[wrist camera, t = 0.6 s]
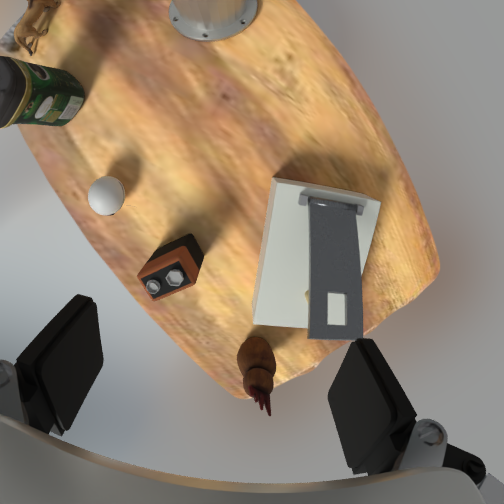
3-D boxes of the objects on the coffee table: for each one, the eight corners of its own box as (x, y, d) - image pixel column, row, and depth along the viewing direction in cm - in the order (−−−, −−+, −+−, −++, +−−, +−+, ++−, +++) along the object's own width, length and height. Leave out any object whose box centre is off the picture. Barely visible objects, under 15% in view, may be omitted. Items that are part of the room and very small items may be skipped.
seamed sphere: (93, 199, 39) (75, 208, 34) (107, 167, 37) (90, 171, 32) (132, 223, 41) (118, 235, 35) (148, 191, 39) (135, 198, 34)
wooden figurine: (278, 352, 50) (288, 416, 36) (250, 363, 51) (252, 427, 37) (262, 326, 48) (269, 392, 34) (232, 338, 48) (230, 404, 35)
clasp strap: (307, 199, 34) (309, 194, 33) (351, 207, 35) (355, 202, 34) (306, 339, 27) (310, 337, 26) (359, 340, 28) (364, 339, 27)
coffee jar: (36, 102, 32) (-42, 100, 15) (64, 64, 30) (-12, 44, 13) (64, 135, 35) (-20, 142, 17) (94, 95, 33) (13, 79, 16)
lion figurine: (48, -7, 23) (23, -21, 15) (68, -13, 23) (44, -30, 15) (24, 58, 28) (-7, 52, 20) (43, 54, 29) (12, 44, 20)
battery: (205, 256, 43) (196, 288, 33) (168, 273, 44) (150, 307, 34) (192, 231, 41) (178, 257, 32) (154, 250, 42) (132, 279, 33)
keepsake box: (272, 176, 39) (279, 184, 32) (363, 193, 40) (387, 204, 33) (251, 302, 46) (253, 331, 39) (333, 309, 47) (346, 336, 40)
